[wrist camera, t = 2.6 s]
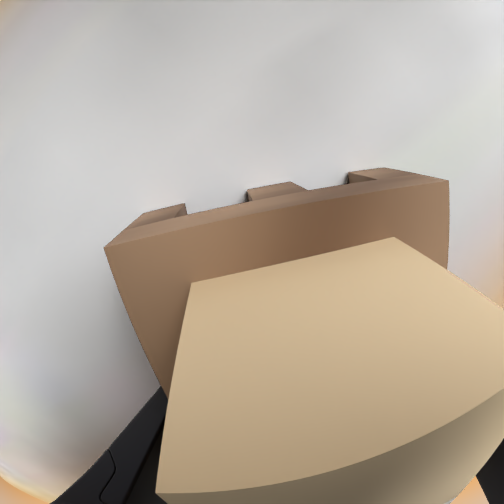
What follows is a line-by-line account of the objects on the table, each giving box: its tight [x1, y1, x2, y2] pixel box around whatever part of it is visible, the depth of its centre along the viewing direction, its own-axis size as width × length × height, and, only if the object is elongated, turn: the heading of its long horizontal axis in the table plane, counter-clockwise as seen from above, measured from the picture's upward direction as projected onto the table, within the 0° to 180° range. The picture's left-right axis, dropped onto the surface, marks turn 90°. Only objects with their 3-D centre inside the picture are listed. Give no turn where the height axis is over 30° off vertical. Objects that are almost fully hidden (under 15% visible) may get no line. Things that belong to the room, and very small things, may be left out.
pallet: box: [104, 168, 449, 399], centre depth 8 cm, size 7×10×3 cm
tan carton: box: [155, 237, 504, 504], centre depth 4 cm, size 4×4×4 cm
